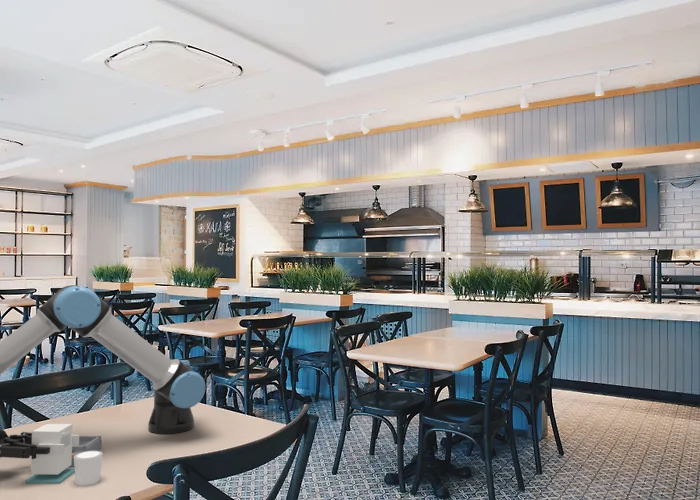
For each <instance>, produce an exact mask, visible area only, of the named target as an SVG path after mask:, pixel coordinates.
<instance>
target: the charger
mask: <svg viewBox="0 0 700 500" xmlns="http://www.w3.org/2000/svg"><path fill="white" fill-rule="evenodd" d="M73 425H74V424H73V423H46V424H44V425H41V426H40V427H37V428H36V429H34V430H32V431H31V433H32V445H37V447H38V444H64V455H38V454H36V458H35V459H32V456H30V457H31V458H30V459H31V460H30V475H35V474H56V475H58V474H59V473H61V472H62V471H63V470H65V469H66V468H70V467H69V466H71V465H72V435H73Z"/></svg>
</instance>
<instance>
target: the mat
mask: <svg viewBox="0 0 700 500" xmlns="http://www.w3.org/2000/svg"><path fill="white" fill-rule="evenodd" d="M73 474H75V467H68V468H66V469H65V470H63V471H62V472H61V473H59V474H58V475H56V474H32V476H30V477H29V478H27V479H26V480H24V484H61V483H63V482H64V481H65V480H66V479H68V478H69V477H70V476H72V475H73Z"/></svg>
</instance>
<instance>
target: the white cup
mask: <svg viewBox="0 0 700 500" xmlns="http://www.w3.org/2000/svg"><path fill="white" fill-rule="evenodd" d="M103 455H104V453H103V452H102V451H101V450H98V451H94V450H93V451H85V452H81V453H78V454H76V455H75V456H74V467H73V468H75V473H74V477H75V478H74V479H75V484H76V485H77V486H81V487H84V486H91V485H95V484H97V483H99V482H100V481H101V471H102V466H103V465H102V464H103V457H104V456H103Z"/></svg>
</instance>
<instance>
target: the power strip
mask: <svg viewBox="0 0 700 500" xmlns="http://www.w3.org/2000/svg"><path fill="white" fill-rule="evenodd" d="M102 443H103V442H102V436H101V435H79V445H78V446H72V465H71V466H69V467H68V468H75V467H74V456H75V455H76V454H78V453H81V452H85V451H93V450H94V451H101V449H102V447H103V446H102Z"/></svg>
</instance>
